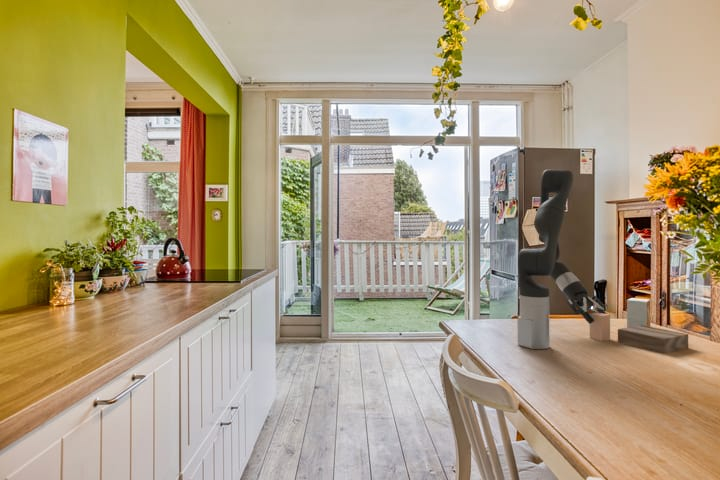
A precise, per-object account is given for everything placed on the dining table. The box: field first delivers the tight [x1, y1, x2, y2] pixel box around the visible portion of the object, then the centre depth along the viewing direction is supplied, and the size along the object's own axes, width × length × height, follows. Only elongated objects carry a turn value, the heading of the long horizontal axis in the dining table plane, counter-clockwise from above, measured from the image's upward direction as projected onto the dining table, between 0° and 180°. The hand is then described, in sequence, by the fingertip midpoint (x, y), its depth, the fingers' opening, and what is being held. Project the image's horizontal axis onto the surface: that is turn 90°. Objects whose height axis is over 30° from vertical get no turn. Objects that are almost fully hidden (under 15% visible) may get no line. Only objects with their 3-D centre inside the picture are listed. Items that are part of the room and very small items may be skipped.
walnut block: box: [617, 325, 689, 354], centre depth 125 cm, size 14×14×5 cm
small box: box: [626, 297, 651, 328], centre depth 140 cm, size 8×6×13 cm
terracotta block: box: [589, 312, 611, 342], centre depth 133 cm, size 4×4×9 cm
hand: (600, 321), depth 133 cm, fingers open, 8 cm apart
